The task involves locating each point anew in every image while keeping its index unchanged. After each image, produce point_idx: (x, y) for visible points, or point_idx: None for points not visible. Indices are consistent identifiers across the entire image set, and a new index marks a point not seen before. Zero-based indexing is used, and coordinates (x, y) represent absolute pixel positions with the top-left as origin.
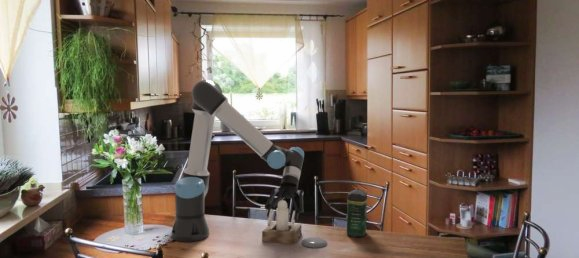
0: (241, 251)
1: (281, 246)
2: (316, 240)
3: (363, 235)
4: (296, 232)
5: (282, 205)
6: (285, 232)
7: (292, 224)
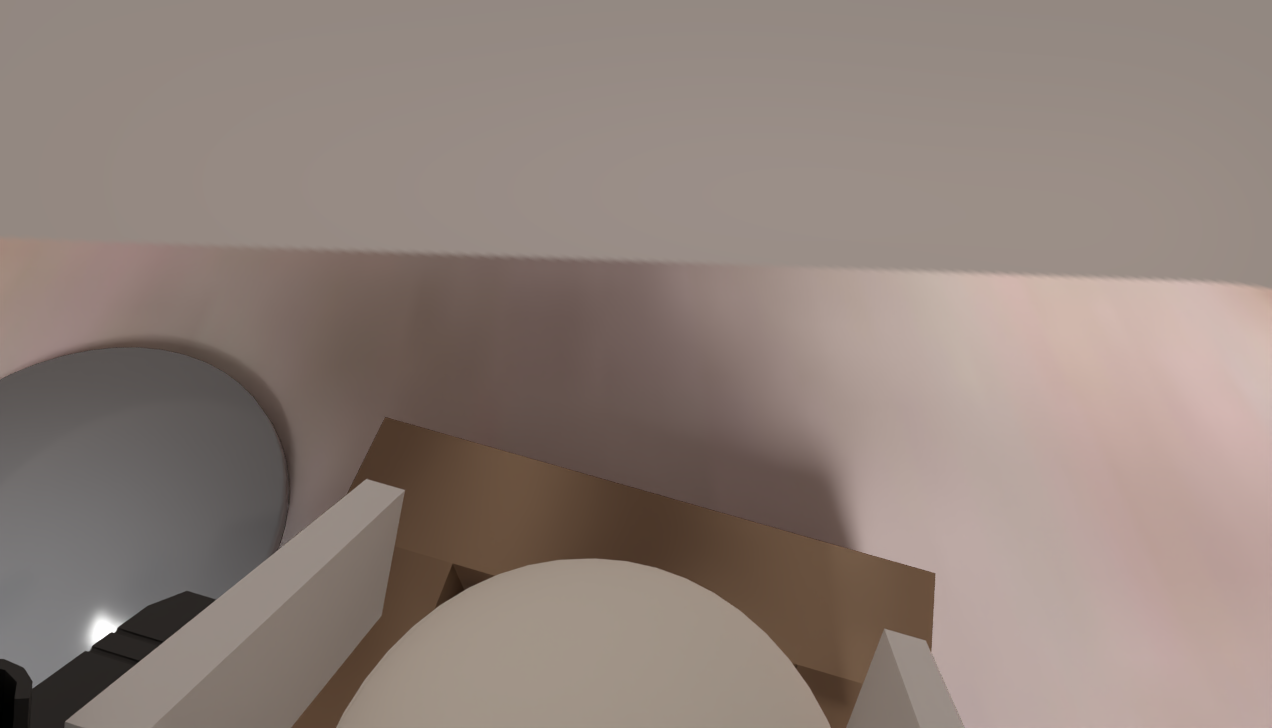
0: (1013, 296)
1: (584, 418)
2: (6, 570)
3: None
4: None
5: (590, 563)
6: (517, 512)
7: (349, 500)
